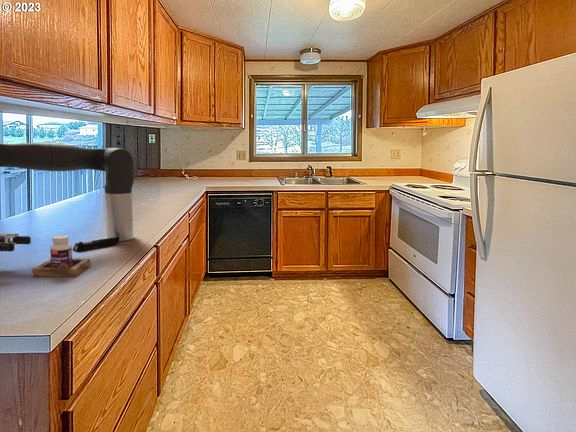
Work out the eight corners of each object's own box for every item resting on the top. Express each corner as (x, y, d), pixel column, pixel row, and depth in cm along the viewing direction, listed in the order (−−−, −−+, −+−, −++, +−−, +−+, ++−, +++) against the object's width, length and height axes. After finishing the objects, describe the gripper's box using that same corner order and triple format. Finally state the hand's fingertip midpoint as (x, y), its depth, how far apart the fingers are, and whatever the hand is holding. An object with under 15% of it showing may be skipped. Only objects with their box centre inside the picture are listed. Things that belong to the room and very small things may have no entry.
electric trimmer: (121, 246, 161) (121, 237, 160) (77, 253, 149) (76, 243, 149) (116, 244, 163) (116, 235, 163) (72, 251, 151) (71, 241, 151)
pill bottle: (49, 273, 125) (46, 239, 124) (54, 268, 130) (52, 235, 129) (70, 273, 126) (68, 238, 125) (75, 267, 132) (73, 234, 130)
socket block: (51, 265, 134) (51, 258, 133) (90, 265, 134) (90, 258, 134) (32, 276, 123) (32, 269, 122) (74, 276, 123) (74, 269, 123)
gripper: (-58, 234, 118) (7, 235, 119) (-24, 224, 132) (34, 225, 133) (-56, 262, 119) (9, 263, 120) (-22, 250, 133) (35, 250, 134)
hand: (22, 243), depth 126 cm, fingers open, 8 cm apart
